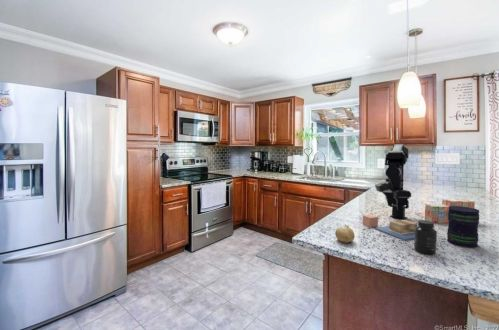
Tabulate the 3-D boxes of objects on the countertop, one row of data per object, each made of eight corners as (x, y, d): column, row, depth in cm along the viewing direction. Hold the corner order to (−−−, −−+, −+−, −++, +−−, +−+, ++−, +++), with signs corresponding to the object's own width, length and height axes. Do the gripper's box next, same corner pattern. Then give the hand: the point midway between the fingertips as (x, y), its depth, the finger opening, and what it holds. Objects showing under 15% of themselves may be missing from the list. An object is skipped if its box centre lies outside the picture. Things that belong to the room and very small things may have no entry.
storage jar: (471, 250, 92) (473, 212, 92) (442, 241, 101) (443, 207, 100) (482, 245, 97) (484, 209, 96) (453, 237, 106) (454, 205, 105)
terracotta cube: (370, 223, 128) (370, 214, 127) (377, 226, 123) (377, 216, 122) (362, 224, 126) (363, 215, 126) (370, 227, 121) (370, 217, 121)
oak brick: (405, 227, 117) (405, 219, 117) (416, 231, 111) (417, 223, 111) (389, 229, 114) (389, 221, 114) (400, 233, 109) (400, 225, 108)
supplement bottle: (409, 248, 94) (410, 219, 94) (425, 247, 95) (426, 218, 94) (424, 256, 87) (425, 224, 87) (440, 255, 88) (442, 223, 87)
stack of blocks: (431, 223, 127) (432, 200, 127) (424, 219, 134) (425, 198, 133) (474, 223, 126) (475, 201, 125) (464, 220, 132) (465, 198, 131)
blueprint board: (401, 225, 123) (401, 223, 123) (433, 235, 108) (433, 234, 108) (374, 229, 118) (374, 227, 118) (404, 240, 103) (404, 238, 102)
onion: (356, 245, 98) (357, 228, 98) (337, 244, 99) (337, 227, 99) (351, 238, 106) (352, 223, 106) (333, 237, 107) (333, 222, 107)
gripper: (369, 174, 125) (369, 203, 126) (386, 179, 106) (385, 212, 107) (392, 174, 123) (391, 204, 124) (412, 179, 105) (411, 213, 106)
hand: (393, 208), depth 115 cm, fingers open, 9 cm apart
